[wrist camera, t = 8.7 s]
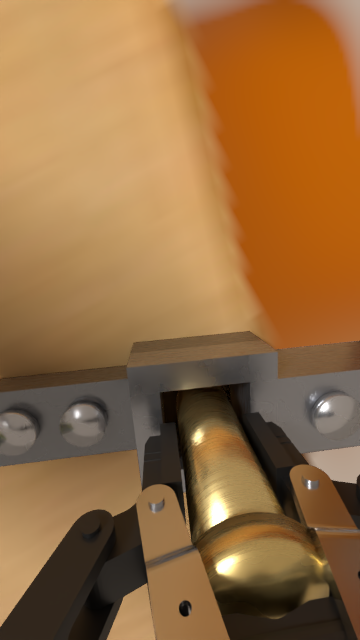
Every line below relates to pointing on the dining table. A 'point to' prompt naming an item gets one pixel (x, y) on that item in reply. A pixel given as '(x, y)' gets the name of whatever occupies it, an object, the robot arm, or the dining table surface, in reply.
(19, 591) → the dining table surface
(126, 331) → the dining table surface
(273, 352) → the grey studded bar
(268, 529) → the pin
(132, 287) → the dining table surface
